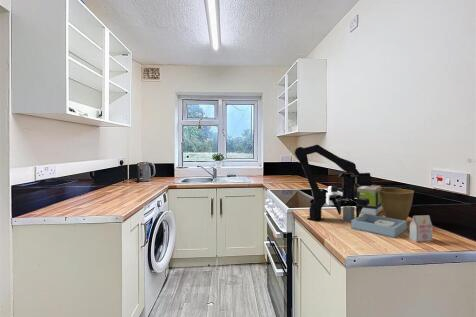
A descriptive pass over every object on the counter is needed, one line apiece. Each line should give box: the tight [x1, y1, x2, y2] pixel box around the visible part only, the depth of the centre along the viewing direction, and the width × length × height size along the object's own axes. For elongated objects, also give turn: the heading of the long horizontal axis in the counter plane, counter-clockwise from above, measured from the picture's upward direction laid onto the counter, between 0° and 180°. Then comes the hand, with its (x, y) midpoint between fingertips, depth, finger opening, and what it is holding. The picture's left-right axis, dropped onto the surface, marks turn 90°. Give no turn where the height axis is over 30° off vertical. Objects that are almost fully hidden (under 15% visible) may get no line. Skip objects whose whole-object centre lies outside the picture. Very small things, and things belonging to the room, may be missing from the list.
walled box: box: [350, 214, 408, 239], centre depth 122 cm, size 16×18×4 cm
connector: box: [342, 205, 355, 223], centre depth 136 cm, size 4×4×7 cm
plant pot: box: [379, 188, 415, 221], centre depth 132 cm, size 15×15×16 cm
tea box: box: [356, 184, 383, 216], centre depth 153 cm, size 15×10×15 cm, turn 141°
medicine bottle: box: [325, 185, 340, 206], centre depth 175 cm, size 7×7×12 cm
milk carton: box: [409, 214, 434, 243], centre depth 107 cm, size 4×7×10 cm, turn 96°
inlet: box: [374, 220, 396, 227], centre depth 120 cm, size 7×7×3 cm
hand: (348, 216), depth 136 cm, fingers open, 9 cm apart
